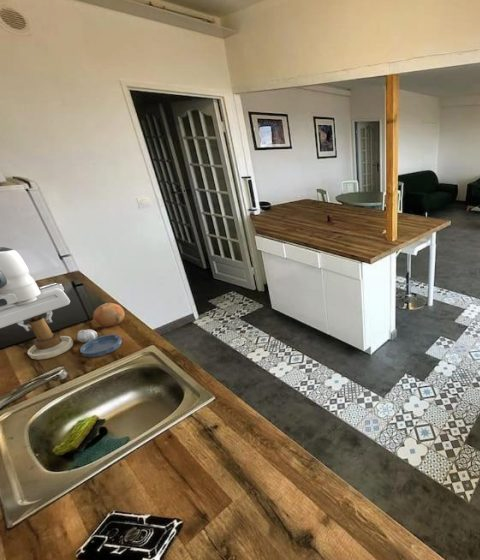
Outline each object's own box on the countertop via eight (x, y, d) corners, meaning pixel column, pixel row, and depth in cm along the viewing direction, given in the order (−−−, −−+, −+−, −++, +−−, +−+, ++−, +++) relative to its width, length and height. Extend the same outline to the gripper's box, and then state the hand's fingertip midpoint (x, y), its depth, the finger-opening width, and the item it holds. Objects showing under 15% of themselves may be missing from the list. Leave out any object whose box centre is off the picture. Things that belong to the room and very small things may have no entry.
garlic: (76, 346, 118) (70, 335, 116) (82, 338, 122) (76, 327, 120) (96, 342, 120) (90, 331, 118) (101, 335, 125) (96, 324, 122)
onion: (113, 317, 136) (105, 297, 132) (133, 319, 135) (125, 299, 131) (91, 329, 128) (81, 309, 123) (113, 332, 127) (103, 311, 122)
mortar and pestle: (62, 336, 119) (39, 296, 111) (62, 344, 115) (39, 302, 107) (37, 344, 115) (12, 302, 107) (36, 352, 111) (10, 309, 103)
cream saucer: (38, 364, 109) (35, 359, 108) (24, 354, 113) (21, 349, 112) (80, 345, 118) (77, 341, 117) (65, 337, 123) (62, 332, 122)
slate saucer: (92, 361, 111) (89, 357, 110) (76, 352, 115) (73, 347, 114) (128, 344, 120) (126, 339, 119) (112, 335, 124) (110, 331, 123)
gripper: (56, 279, 115) (71, 310, 121) (-29, 303, 98) (-6, 338, 104) (64, 282, 113) (80, 314, 119) (-21, 308, 96) (2, 344, 102)
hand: (39, 326), depth 111 cm, fingers closed on mortar and pestle, 4 cm apart
